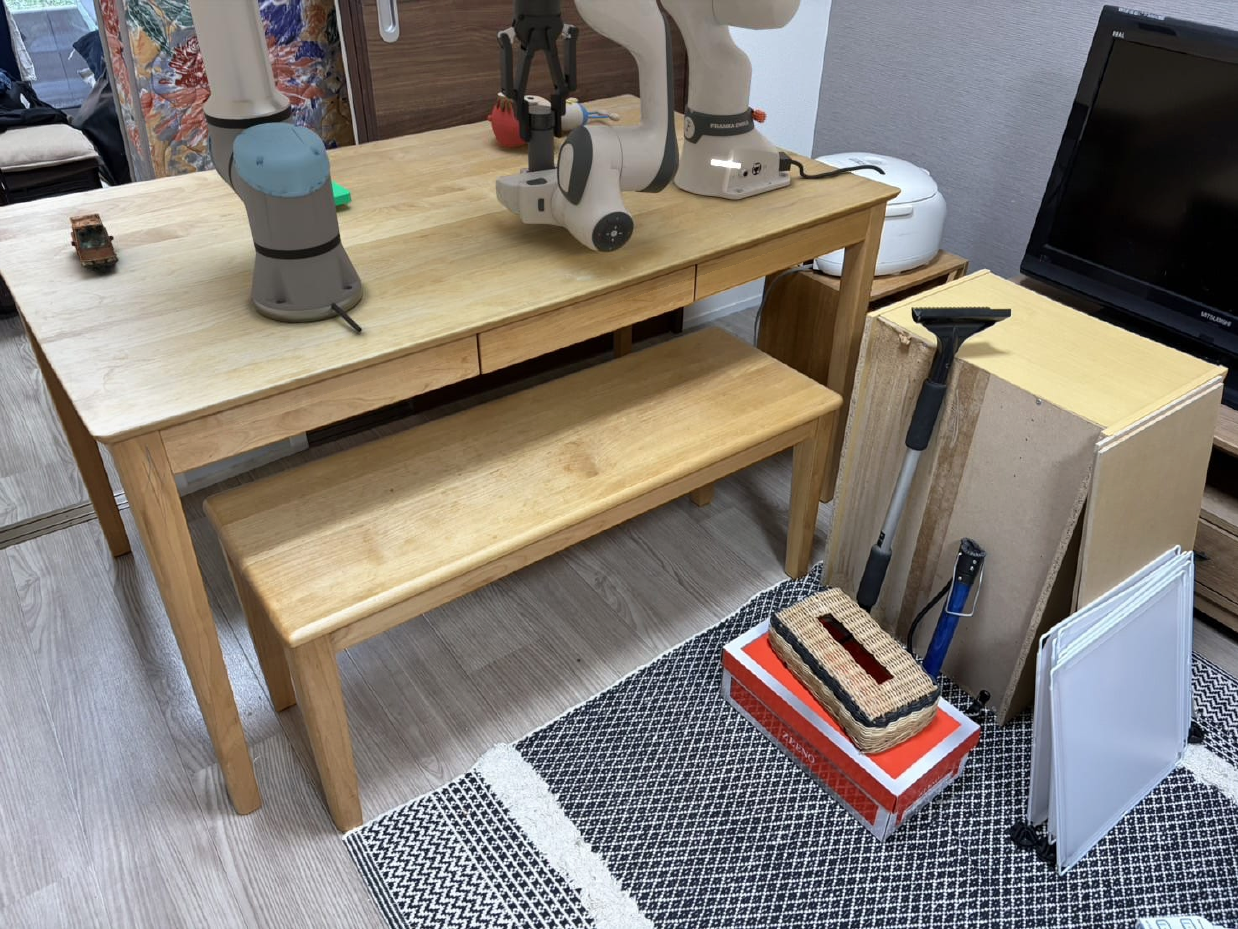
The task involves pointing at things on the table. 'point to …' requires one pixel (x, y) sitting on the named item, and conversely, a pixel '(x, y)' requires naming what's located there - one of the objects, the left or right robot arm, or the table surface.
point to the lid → (542, 116)
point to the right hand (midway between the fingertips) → (539, 170)
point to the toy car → (92, 242)
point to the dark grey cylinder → (541, 149)
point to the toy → (504, 114)
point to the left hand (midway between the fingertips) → (540, 137)
